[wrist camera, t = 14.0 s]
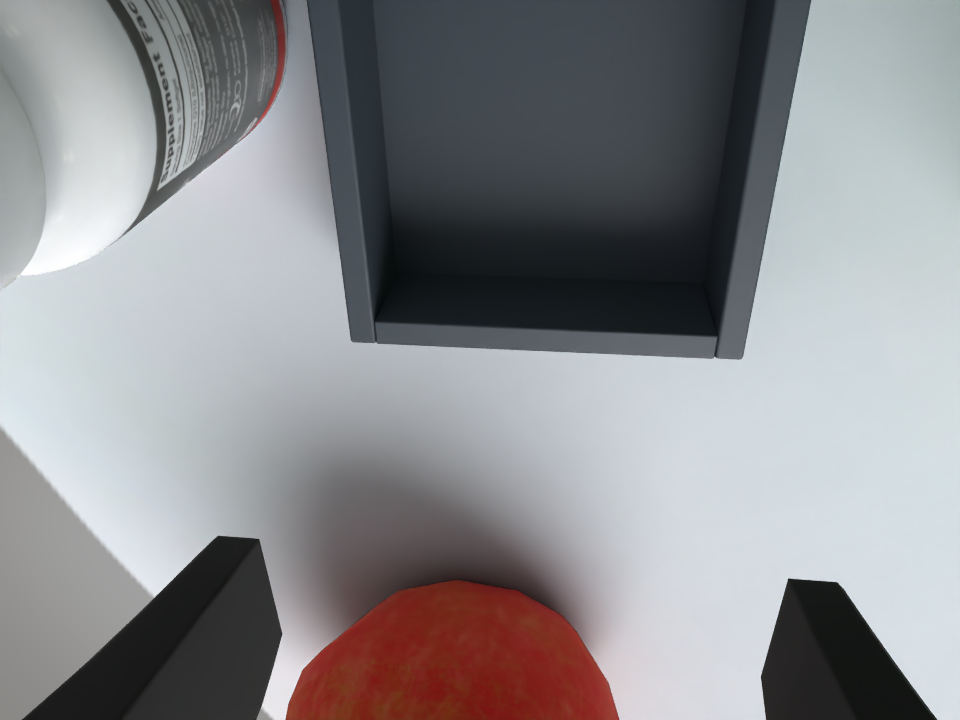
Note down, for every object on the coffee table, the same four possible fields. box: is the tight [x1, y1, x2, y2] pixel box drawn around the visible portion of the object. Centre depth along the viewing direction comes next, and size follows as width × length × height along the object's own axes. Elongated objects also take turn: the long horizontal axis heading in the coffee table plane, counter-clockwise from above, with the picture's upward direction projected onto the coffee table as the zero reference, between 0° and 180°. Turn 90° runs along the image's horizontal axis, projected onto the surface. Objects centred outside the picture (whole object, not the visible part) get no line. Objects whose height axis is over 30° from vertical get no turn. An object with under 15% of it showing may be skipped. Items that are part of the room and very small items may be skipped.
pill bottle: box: [0, 0, 288, 290], centre depth 13 cm, size 6×6×10 cm
